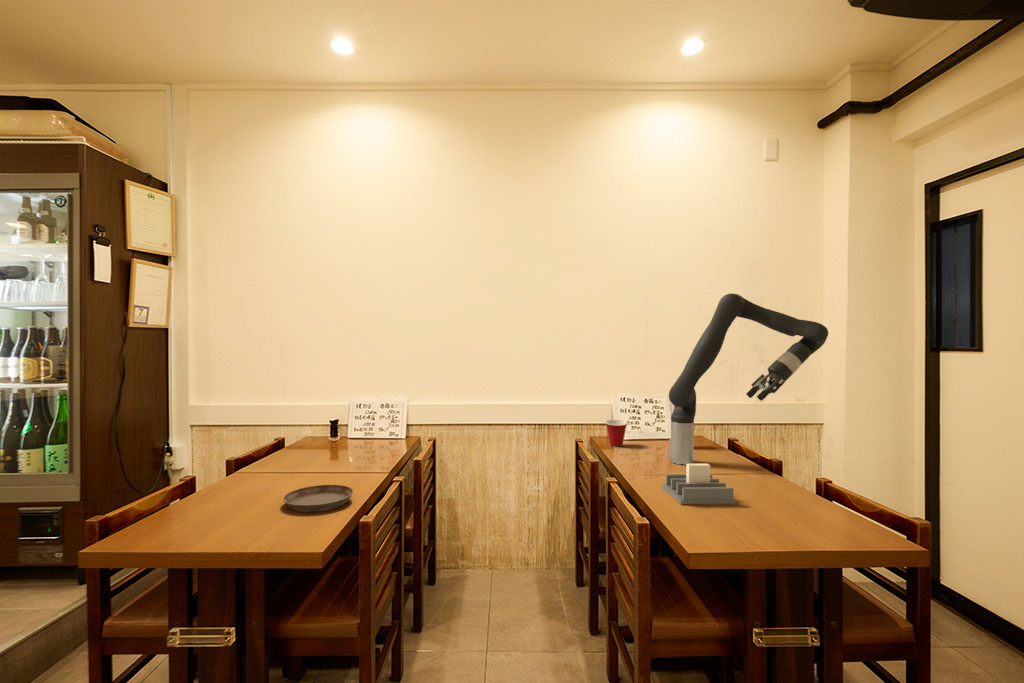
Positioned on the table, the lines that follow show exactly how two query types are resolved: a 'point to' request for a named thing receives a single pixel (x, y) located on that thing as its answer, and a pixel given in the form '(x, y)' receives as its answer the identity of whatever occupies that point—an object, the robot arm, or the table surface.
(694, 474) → the tall cream block
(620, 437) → the plastic cup
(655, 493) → the table surface
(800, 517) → the table surface
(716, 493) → the dish rack
